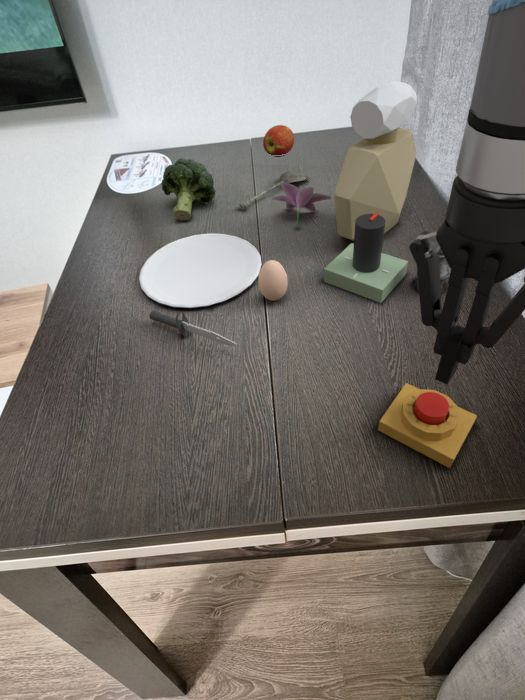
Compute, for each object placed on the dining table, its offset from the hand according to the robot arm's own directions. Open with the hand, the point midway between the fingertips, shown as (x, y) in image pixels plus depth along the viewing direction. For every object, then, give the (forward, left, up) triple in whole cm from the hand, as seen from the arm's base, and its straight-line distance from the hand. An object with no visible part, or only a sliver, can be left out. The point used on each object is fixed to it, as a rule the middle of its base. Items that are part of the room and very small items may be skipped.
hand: (445, 374), depth 51 cm
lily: (+46, -37, -12) cm, 60 cm away
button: (0, 0, -8) cm, 8 cm away
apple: (+71, -63, -12) cm, 96 cm away
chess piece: (+12, -29, -12) cm, 34 cm away
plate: (+52, -10, -12) cm, 55 cm away
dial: (+23, -25, -8) cm, 35 cm away
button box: (0, 0, -11) cm, 11 cm away
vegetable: (+72, -28, -12) cm, 78 cm away
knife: (+39, +5, -12) cm, 41 cm away
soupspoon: (+59, -44, -12) cm, 75 cm away
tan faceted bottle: (+30, -41, -12) cm, 52 cm away
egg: (+34, -11, -12) cm, 38 cm away
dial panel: (+23, -25, -11) cm, 36 cm away
